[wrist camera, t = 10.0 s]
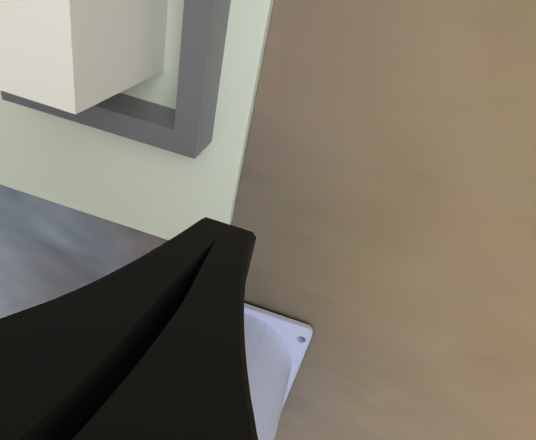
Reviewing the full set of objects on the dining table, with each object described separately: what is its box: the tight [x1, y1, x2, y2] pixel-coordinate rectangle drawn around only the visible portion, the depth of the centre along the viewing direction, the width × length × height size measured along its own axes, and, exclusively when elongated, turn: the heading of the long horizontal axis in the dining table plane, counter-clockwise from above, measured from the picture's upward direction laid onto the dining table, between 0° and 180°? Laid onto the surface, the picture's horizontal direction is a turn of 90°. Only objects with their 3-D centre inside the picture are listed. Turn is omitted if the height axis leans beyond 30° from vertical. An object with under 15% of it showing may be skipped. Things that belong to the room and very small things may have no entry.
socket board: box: [0, 0, 274, 240], centre depth 18 cm, size 16×14×2 cm
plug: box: [0, 0, 168, 114], centre depth 14 cm, size 5×4×6 cm
